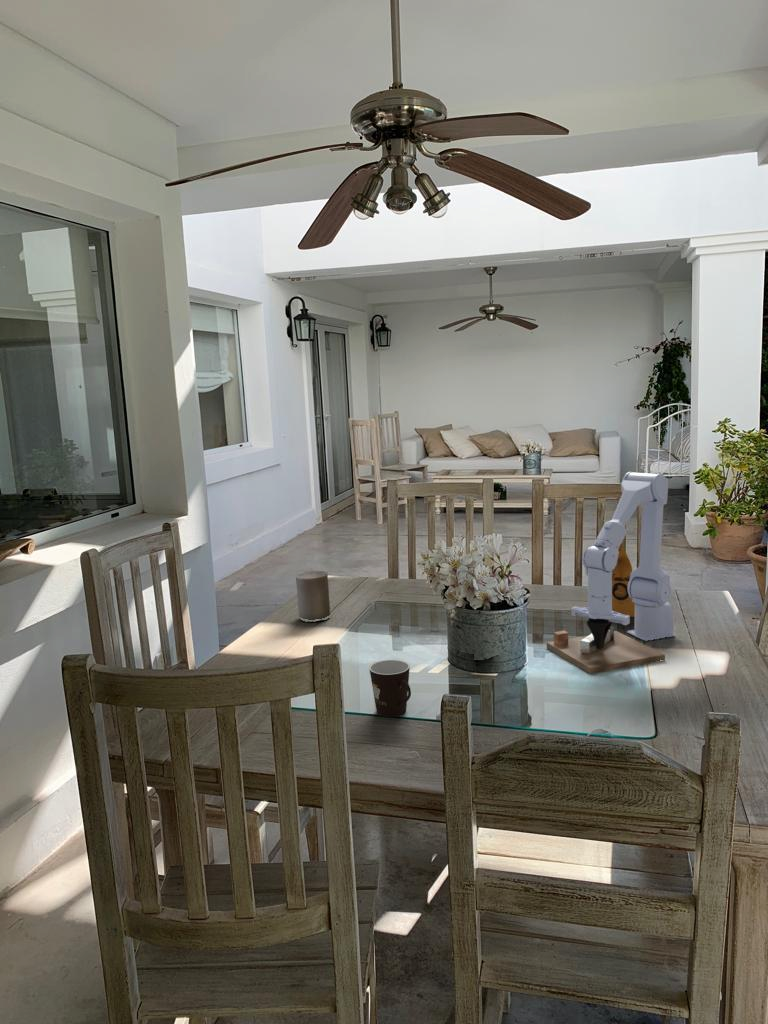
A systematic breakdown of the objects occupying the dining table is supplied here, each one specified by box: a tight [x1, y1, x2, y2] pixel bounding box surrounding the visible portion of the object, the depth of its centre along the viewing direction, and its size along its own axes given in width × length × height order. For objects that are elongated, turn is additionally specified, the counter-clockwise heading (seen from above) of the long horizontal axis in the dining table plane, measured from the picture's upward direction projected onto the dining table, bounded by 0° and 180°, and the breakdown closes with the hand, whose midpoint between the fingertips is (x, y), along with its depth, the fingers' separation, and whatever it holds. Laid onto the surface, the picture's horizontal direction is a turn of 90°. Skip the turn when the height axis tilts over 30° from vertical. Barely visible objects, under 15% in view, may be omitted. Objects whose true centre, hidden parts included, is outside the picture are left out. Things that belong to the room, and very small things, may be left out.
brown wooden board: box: [546, 630, 666, 675], centre depth 197 cm, size 21×20×4 cm
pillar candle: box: [295, 570, 331, 620], centre depth 237 cm, size 10×10×15 cm
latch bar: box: [580, 625, 615, 654], centre depth 199 cm, size 15×3×4 cm, turn 139°
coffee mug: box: [368, 659, 412, 719], centre depth 167 cm, size 12×9×10 cm
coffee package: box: [612, 542, 635, 618], centre depth 229 cm, size 10×12×22 cm
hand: (599, 647), depth 195 cm, fingers closed
